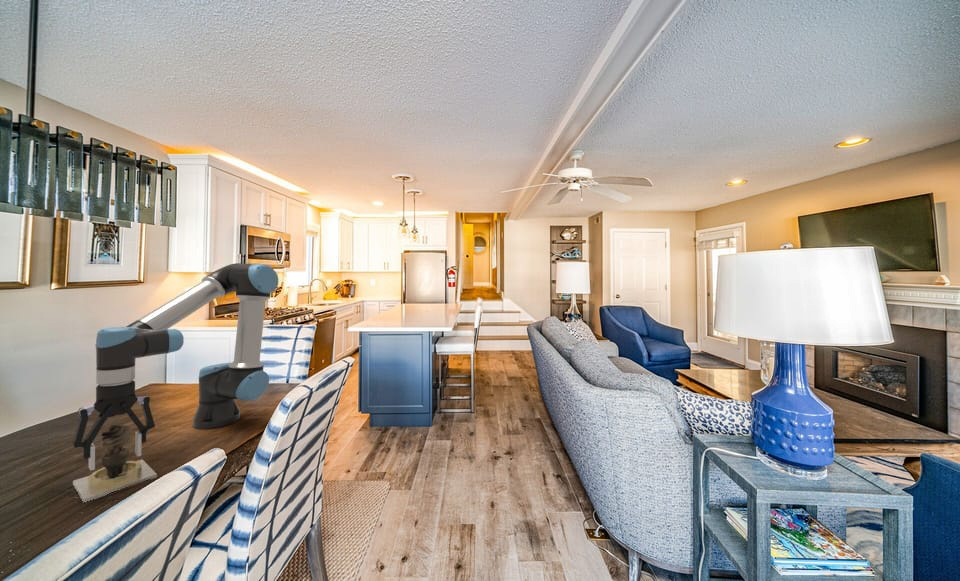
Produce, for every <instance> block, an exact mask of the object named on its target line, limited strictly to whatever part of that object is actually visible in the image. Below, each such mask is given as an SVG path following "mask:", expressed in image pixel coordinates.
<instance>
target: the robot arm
mask: <svg viewBox="0 0 960 581" xmlns="http://www.w3.org/2000/svg"><path fill="white" fill-rule="evenodd" d="M278 285H279V277H278V273H277V271H276V270H274V268H273V267H271V266H270V265H268V264H266V263H241V262H238V263H237V262H236V263H231V264H230V263H229V264H228V265H225V266H222V267H221V268H219V269H217V270H215V271H213V272H211V273H209V274H208V275H206V276H204V277H203V278H202V279H201V282H199V283H198V284H196V285H194V286H193V287H191V288H189V289H187V290H186V291H184V292H183V293H181V294H179V295H178V296H176V297H174V298H173V299H170V300H169V301H168V302H165V303H164V304H162V305H160V306H159V307H157V308H155V309H153V310H152V311H150V312H148V313H147V314H146V315H143V316H141V317H140V318H138V319H137V320H135V321H133V322H132V323H129V324H128V325H126V326H117V327H116V326H115V327H107V328H105V327H104V328H101V329H99V330H98V331H97V333H96V340H95V355H96V362H95V363H96V369H95V370H96V373H95V375H96V377H95V379H96V380H95V382H96V384H97V385H96V387H95V389H96V390H95V402H94V403H93V405H91V406H87V407H79V409H78V415H79V418H78V421H77V425H76V429H75V432H74V435H73V438H72V443H71V444H72V447H73V448H75V449H77V448H82V457H83V459H84V460H88V469H89V470H90V471H96V445H95V444H94V443H93V442H94V440H95V439H96V437H97V436H98V435H99V434H98V433H99V432H100V431H101V429H102V427H103V425H104V424H105V422H106V421H107V420H108V418H111V417H112V418H113V417H115V416H121V415H125V414H126V416H128V418H129V419H130V420H131V422H132V423H133V424H134V425H135V427H136V428H137V430H138V431H135V433H134V434H135V435H134V439H135V440H134V446H135V448H134V454H135V455H136V457H141V456H142V444H143V443H146V441H147V432H148V431H149V430H151V429H154V428H155V427H156V426H155V425H156V424H155V421H154V418H153V413H152V411H151V408H150V407H151V406H150V400H151V397H150V396H148V395H142V396H136V381H135V379H136V359H140V358H145V357H152V356H159V355H164V354H170V353H175V352H177V351H179V350H181V349H182V347H183V346H184V338H185V337H184V335H183V333H182V332H181V331H180V330H179V329H177V328H172V327H173V326H175V325H176V324H178V323H180V322H181V321H182V320H184V319H185V318H187V317H189V316H190V315H192V314H193V313H195V312H197V310H199V309H201V308H202V307H203V306H206V305H207V304H209V303H210V302H212V301H213V300H215V299H216V298H223V297H224V296H226V295H228V294H231V293H235V297H236V298H237V299H238V300H239V304H238V306H239V307H238V314H237V316H238V317H237V323H236V325H237V326H236V336H235V345H234V354H233V361H232V362H224V363H223V362H222V363H216V364H212V365H208V366H207V365H206V366H204V367H202V368H200V370H199V374H198V407H197V409H196V412H195V414H194V417H193V419H192V427H194V428H196V429H214V427H215V428H220V427H224V426H226V425H227V426H228V425H230V424H233V423H235V422H237V421H238V420H240V418H241V411H240V408H239V406H238V404H237V401H241V402H242V401H243V402H244V401H247V402H250V401H255V400H257V399H259V398H260V397H261V396H263V394H264V393H265V392H266V390H267V389H268V387H269V384H270V377H269V374H268V373H267V372H266V371H264V368H265V366H264V363H263V362H262V361H261V351H262V341H263V330H264V320H265V311H266V310H265V308H266V302H267V301H268V300H269V299H270V298H271V293H273V292H275V291H276V289H277V288H278ZM236 400H237V401H236ZM137 402H138V404H139V405H140V406H141V410H142V412H143V416H144V420H145V423H146V424H143V423H142V421H141V420H140V419H139V417H138V416H137V414H135V412H134V410H133V409H132V407H133V406H134V405H135V404H136V403H137ZM93 411H97V412H98V413H99V414H98V416H97V417H96V420H95V421H94V423H93V424H92V426H91V428H90V430H89V432H87V435H86V436H85V438H84V434H85V432H86V428H87V425H88V422H89V416H91V415H92V413H93ZM83 438H84V440H83Z"/></svg>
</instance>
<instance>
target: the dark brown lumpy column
mask: <svg viewBox="0 0 960 581" xmlns="http://www.w3.org/2000/svg"><path fill="white" fill-rule="evenodd" d="M107 428H108V430H106V431H103V432H102V433H101V437H102V439H101V441H102V442H103V443H102V446H103V447H107V450H108V452H105V453H104V454H103V455H102V456H101V461H102V462H101V463H102V466H103V467H105V468H106V469H108V471H109V472H108V473H109V475H108V477H109V478H110V477H115V476H118V475H119V474H121V473H122V472H123V465H124V464H125V463H126V462H127V461H129V459H130V458H129V457H130V449H129V448H124V446H125V445H126V444H127V443H128V442H129V440H130V435H131V432H130V431H131V427H130V426H129V425H126V424H114V425H113V424H112V425H109V426H108V427H107Z"/></svg>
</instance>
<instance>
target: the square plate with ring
mask: <svg viewBox="0 0 960 581" xmlns="http://www.w3.org/2000/svg"><path fill="white" fill-rule="evenodd" d="M108 472H109V471H108V469H106V468H105V467H104V466H103V467H102V468H99V469H97V470H94V471H93V472H92V473H91V474H90V475H88V476H87V475H86V476H84V477H80V478H77V479H74V480H72V485H73V487H74V489H75V491H76V492H78V493H77V494H78V496H79V497H80V500H81V499H82V500H81V501H83V502H82V503H83V504H85V503H88V502H90V500H91V501H93V499H94V500H96V499H100V498H102V497H106V496H108V495H110V494H109V493H111V492H114V491H117V490H119V491H121V490H120V489H122V488H125V487H128V486H130V485H133V484H136V483H139V482H141V481H145V480H148V479H151V478H152V479H151V480H154V479H157V478H158V473H156V471H155V470H154V469H153V468H152V467H151V466H149V464H148V463H146V462H145V460H143V459H139V460H127V462H126V463H125V464H124V465H123V472H122V473H121V474H119V475H118V476H115V477H110V478H109V477H108V475H109V473H108ZM148 481H149V480H148ZM145 482H146V481H145ZM128 488H129V487H128ZM125 489H126V488H125ZM122 490H123V489H122ZM117 492H118V491H117ZM114 493H115V492H114ZM107 494H108V495H107ZM111 494H112V493H111ZM87 501H88V502H87ZM84 502H85V503H84Z"/></svg>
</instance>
